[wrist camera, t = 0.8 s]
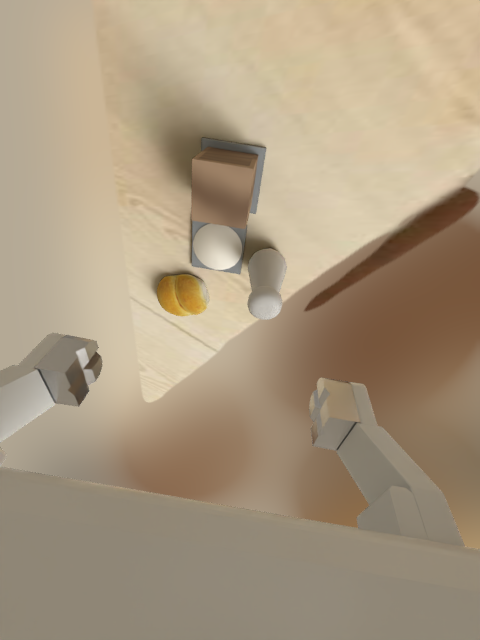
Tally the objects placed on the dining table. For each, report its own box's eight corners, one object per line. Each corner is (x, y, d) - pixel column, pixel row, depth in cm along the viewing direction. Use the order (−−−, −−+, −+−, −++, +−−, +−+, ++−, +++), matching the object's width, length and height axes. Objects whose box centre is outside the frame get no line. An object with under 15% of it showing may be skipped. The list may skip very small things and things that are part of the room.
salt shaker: (244, 268, 46) (233, 318, 36) (257, 237, 42) (250, 282, 32) (277, 280, 47) (276, 332, 37) (292, 251, 43) (296, 299, 33)
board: (202, 137, 35) (191, 144, 31) (266, 147, 35) (264, 155, 31) (200, 203, 40) (190, 217, 36) (256, 212, 40) (253, 227, 36)
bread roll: (153, 275, 49) (144, 287, 46) (201, 269, 47) (196, 281, 44) (169, 313, 54) (163, 326, 51) (214, 308, 52) (210, 322, 49)
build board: (193, 216, 41) (192, 218, 41) (247, 225, 41) (246, 227, 41) (192, 264, 47) (191, 266, 46) (240, 272, 46) (240, 274, 46)
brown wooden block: (207, 146, 35) (192, 158, 29) (258, 154, 35) (253, 168, 29) (205, 199, 39) (191, 220, 33) (250, 207, 39) (245, 229, 33)
